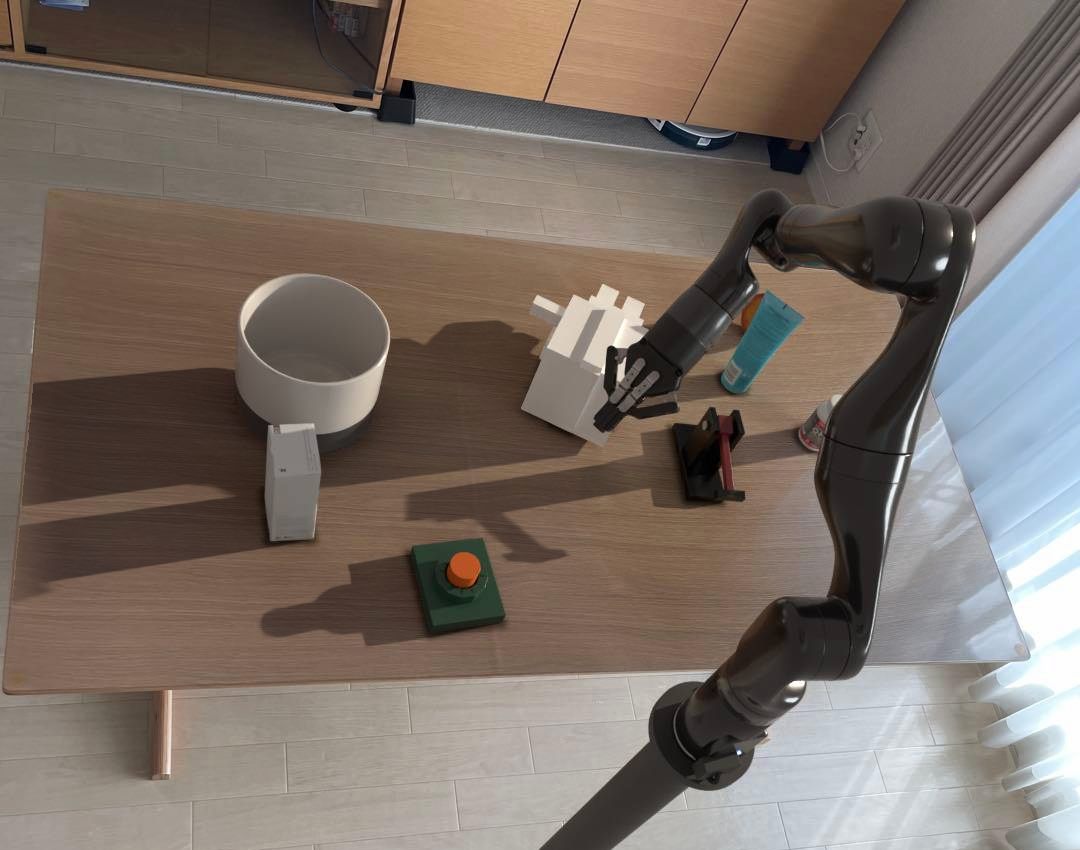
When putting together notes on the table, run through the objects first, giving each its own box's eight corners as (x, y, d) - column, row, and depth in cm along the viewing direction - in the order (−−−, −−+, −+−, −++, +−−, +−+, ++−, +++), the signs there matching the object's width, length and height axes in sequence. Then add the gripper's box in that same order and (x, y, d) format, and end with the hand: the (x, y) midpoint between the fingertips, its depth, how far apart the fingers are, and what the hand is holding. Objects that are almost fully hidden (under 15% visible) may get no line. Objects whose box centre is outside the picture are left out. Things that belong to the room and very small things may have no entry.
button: (479, 586, 132) (483, 576, 130) (450, 590, 130) (454, 580, 128) (471, 560, 133) (476, 550, 131) (443, 563, 132) (447, 553, 130)
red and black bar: (740, 503, 149) (747, 497, 146) (712, 501, 147) (719, 495, 145) (731, 423, 153) (738, 416, 151) (704, 420, 152) (711, 413, 150)
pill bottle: (799, 448, 167) (828, 412, 159) (795, 423, 170) (824, 387, 163) (828, 455, 168) (859, 419, 161) (824, 430, 171) (854, 394, 164)
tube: (756, 387, 173) (811, 309, 157) (745, 402, 170) (800, 325, 154) (720, 363, 173) (771, 283, 158) (709, 378, 171) (759, 298, 155)
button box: (502, 622, 134) (509, 608, 131) (429, 633, 130) (435, 619, 127) (479, 545, 139) (486, 530, 136) (409, 553, 136) (414, 538, 132)
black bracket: (721, 503, 156) (755, 459, 147) (686, 500, 154) (718, 456, 145) (704, 431, 163) (736, 385, 154) (671, 428, 162) (700, 381, 152)
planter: (355, 356, 152) (372, 271, 138) (385, 459, 143) (405, 380, 129) (223, 363, 144) (226, 274, 130) (245, 473, 135) (251, 390, 121)
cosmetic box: (313, 540, 133) (325, 477, 121) (266, 542, 130) (273, 478, 119) (306, 487, 137) (317, 421, 125) (261, 489, 135) (267, 422, 123)
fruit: (781, 336, 182) (802, 305, 175) (758, 356, 177) (779, 325, 171) (748, 309, 183) (767, 278, 177) (724, 328, 179) (744, 296, 172)
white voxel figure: (671, 362, 173) (632, 469, 154) (540, 300, 172) (485, 400, 154) (707, 297, 162) (670, 404, 143) (567, 231, 161) (512, 330, 143)
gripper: (646, 290, 127) (555, 392, 130) (723, 357, 124) (628, 460, 127) (656, 303, 135) (569, 400, 137) (728, 367, 132) (639, 465, 135)
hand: (598, 429), depth 132 cm, fingers closed
